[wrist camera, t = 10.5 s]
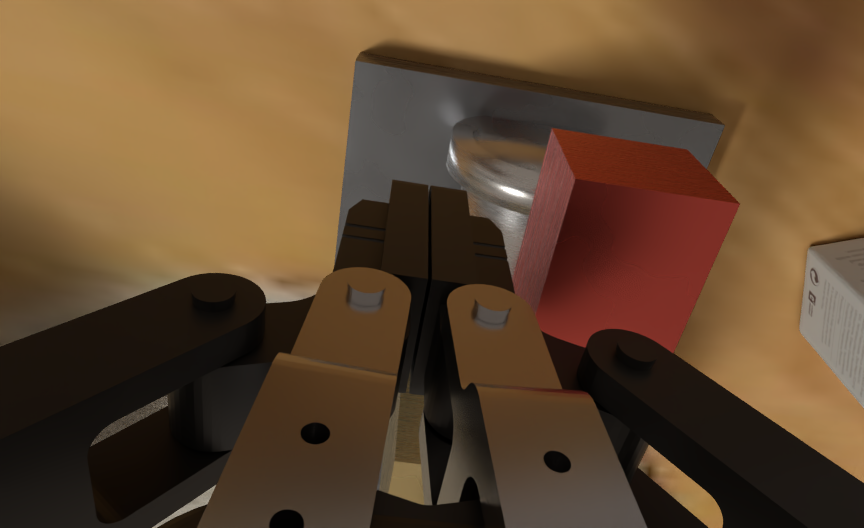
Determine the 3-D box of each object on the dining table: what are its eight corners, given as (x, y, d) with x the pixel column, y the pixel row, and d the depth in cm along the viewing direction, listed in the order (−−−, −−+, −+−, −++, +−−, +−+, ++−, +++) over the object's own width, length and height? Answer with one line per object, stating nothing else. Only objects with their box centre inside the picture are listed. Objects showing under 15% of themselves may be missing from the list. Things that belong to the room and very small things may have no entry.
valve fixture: (307, 547, 33) (262, 764, 25) (359, 52, 20) (301, 161, 12) (526, 573, 34) (552, 791, 26) (711, 114, 21) (885, 255, 13)
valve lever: (535, 125, 11) (555, 175, 9) (702, 151, 12) (758, 206, 10) (413, 619, 20) (410, 704, 18) (513, 629, 20) (521, 715, 18)
